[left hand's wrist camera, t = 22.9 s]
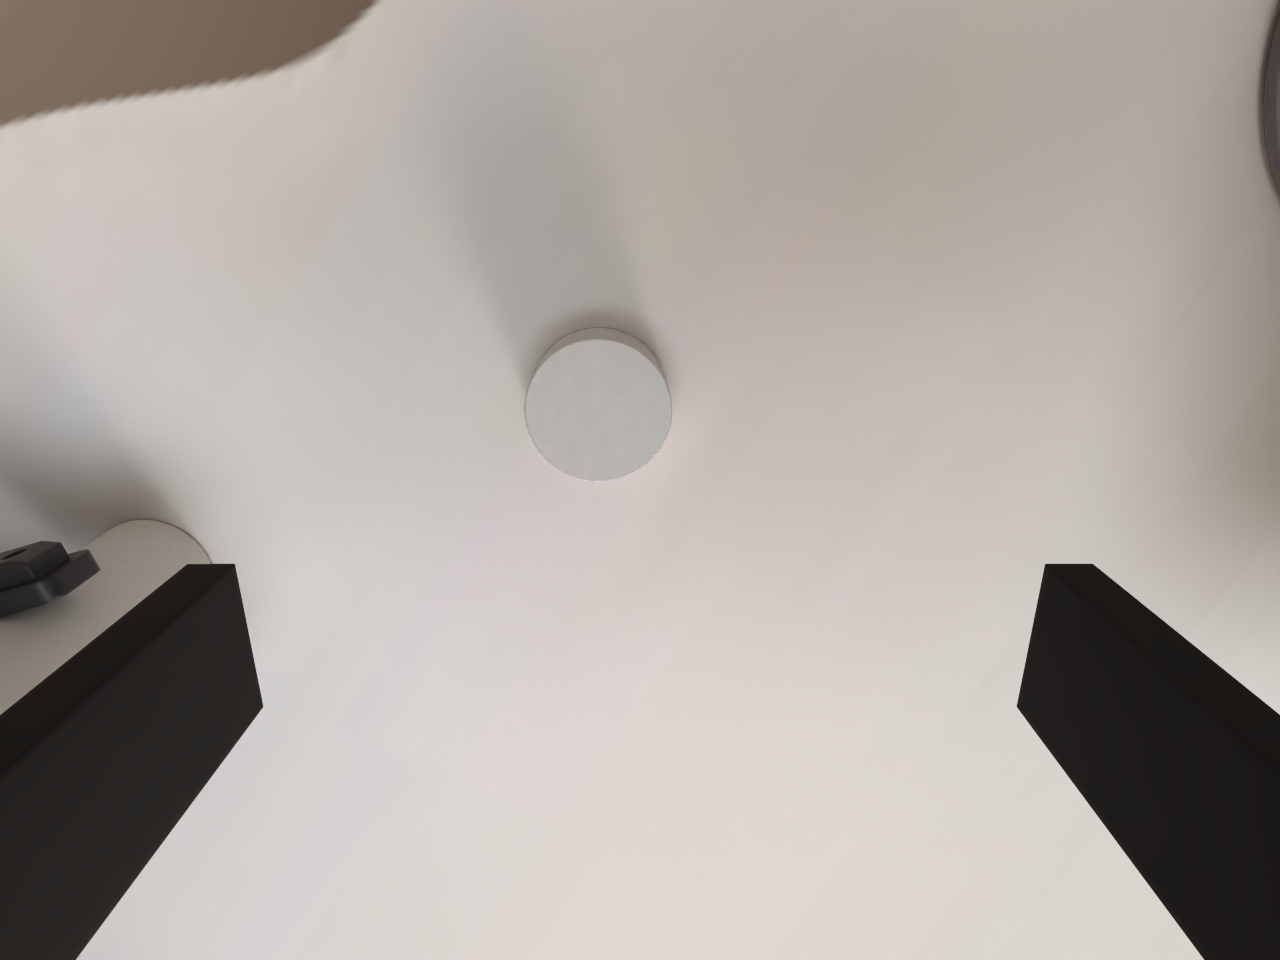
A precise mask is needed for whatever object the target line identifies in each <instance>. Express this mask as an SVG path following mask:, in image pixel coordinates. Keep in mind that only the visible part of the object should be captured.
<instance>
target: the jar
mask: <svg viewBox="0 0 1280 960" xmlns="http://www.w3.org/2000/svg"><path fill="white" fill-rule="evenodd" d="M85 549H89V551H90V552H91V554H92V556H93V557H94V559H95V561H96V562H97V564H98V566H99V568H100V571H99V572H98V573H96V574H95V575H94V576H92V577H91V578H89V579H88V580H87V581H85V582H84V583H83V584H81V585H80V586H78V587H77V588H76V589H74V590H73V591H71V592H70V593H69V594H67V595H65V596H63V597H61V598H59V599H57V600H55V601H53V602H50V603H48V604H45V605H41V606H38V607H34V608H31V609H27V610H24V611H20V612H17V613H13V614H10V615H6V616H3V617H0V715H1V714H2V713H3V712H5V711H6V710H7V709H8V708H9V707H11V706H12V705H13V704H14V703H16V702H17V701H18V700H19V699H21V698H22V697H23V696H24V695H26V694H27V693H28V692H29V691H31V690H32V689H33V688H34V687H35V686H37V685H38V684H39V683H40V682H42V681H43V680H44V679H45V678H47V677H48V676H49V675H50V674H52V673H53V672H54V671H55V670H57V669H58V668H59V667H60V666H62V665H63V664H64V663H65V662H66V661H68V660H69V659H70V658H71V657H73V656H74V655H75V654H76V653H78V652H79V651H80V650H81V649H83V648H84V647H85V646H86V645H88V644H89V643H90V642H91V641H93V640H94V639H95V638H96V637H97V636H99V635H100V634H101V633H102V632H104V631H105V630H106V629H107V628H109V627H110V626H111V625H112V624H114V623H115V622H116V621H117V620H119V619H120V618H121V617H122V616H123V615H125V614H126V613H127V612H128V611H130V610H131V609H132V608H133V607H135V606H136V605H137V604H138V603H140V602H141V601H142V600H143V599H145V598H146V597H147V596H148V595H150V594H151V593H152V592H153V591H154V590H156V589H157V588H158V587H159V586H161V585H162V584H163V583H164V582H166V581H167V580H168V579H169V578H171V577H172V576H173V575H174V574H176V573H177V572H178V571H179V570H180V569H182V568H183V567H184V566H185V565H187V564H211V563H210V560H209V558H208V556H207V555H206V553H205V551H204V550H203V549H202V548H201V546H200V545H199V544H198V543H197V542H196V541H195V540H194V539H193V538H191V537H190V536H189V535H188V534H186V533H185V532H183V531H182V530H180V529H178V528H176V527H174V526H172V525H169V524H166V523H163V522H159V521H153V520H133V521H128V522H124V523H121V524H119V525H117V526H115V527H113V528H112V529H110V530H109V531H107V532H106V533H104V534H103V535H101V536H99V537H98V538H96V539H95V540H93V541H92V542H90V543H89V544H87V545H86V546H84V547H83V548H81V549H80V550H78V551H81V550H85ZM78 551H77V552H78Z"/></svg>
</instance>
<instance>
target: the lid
mask: <svg viewBox="0 0 1280 960" xmlns="http://www.w3.org/2000/svg"><path fill="white" fill-rule="evenodd" d="M671 418H672V405H671V397H670V393H669V389H668V385H667V382H666V378H665V375H664V372H663V370H662V367H661V365H660V364H659V362H658V360H657V358H656V357H655V356H654V354H653V353H652V352H651V351H650V350H649V349H648V348H647V347H646V346H645V345H644V344H643V343H642V342H640V341H639V340H638V339H636V338H634V337H633V336H631V335H629V334H626V333H624V332H621V331H618V330H615V329H609V328H589V329H584V330H580V331H576V332H574V333H571V334H569V335H567V336H565V337H564V338H562V339H560V340H559V341H558V342H556V343H555V344H554V345H553V346H552V347H551V348H550V349H549V350H548V351H547V352H546V353H545V355H544V356H543V357H542V359H541V361H540V362H539V364H538V366H537V368H536V371H535V373H534V375H533V377H532V379H531V382H530V384H529V387H528V390H527V394H526V399H525V419H526V425H527V428H528V432H529V435H530V437H531V439H532V441H533V443H534V445H535V446H536V448H537V449H538V451H539V452H540V453H541V455H542V456H543V457H544V458H545V459H546V460H547V461H548V462H549V463H550V464H552V465H553V466H554V467H556V468H557V469H559V470H560V471H562V472H564V473H566V474H568V475H570V476H573V477H576V478H579V479H583V480H590V481H609V480H615V479H619V478H622V477H625V476H628V475H630V474H632V473H634V472H636V471H638V470H639V469H641V468H642V467H644V466H645V465H646V464H647V463H648V462H649V461H651V460H652V459H653V458H654V456H655V455H656V454H657V453H658V452H659V450H660V448H661V447H662V445H663V444H664V442H665V439H666V437H667V435H668V432H669V429H670V424H671Z"/></svg>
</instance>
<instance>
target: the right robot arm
mask: <svg viewBox="0 0 1280 960" xmlns="http://www.w3.org/2000/svg"><path fill="white" fill-rule="evenodd" d="M99 571H100V568H99V566H98V564H97V562H96V561H95V559H94V557H93V556H92V554H91V552H90V551H89V549H85V550H81V551H78V552H74V553H71V554H67V552H66V550H65V549H64V547H63V546H62V544H61V543H60V542H47V541H41V542H37V543H34V544H30V545H27V546H24V547H20V548H16V549H13V550H11V551H6V552H3V553H0V617H3V616H6V615H10V614H13V613H17V612H20V611H24V610H27V609H31V608H34V607H38V606H41V605H45V604H48V603H50V602H53V601H55V600H57V599H59V598H61V597H63V596H65V595H67V594H69V593H70V592H71V591H73V590H74V589H76V588H77V587H78V586H80V585H81V584H83V583H84V582H85V581H87V580H88V579H89V578H91V577H92V576H94V575H95V574H96V573H98V572H99Z"/></svg>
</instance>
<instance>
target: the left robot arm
mask: <svg viewBox="0 0 1280 960" xmlns="http://www.w3.org/2000/svg"><path fill="white" fill-rule="evenodd" d="M1264 131H1265V141H1266V149H1267V154H1268V159H1269V164H1270V169H1271V172H1272V175H1273V178H1274V181H1275V184H1276V187H1277V190H1278V192H1279V194H1280V16H1279V18H1278V22H1277V26H1276V29H1275V33H1274V37H1273V41H1272V45H1271V49H1270V55H1269V60H1268V66H1267V71H1266V80H1265V91H1264ZM262 708H263V703H262V698H261V693H260V688H259V683H258V678H257V673H256V668H255V663H254V658H253V653H252V648H251V643H250V638H249V633H248V628H247V623H246V618H245V613H244V608H243V603H242V598H241V593H240V588H239V583H238V578H237V573H236V568H235V564H187V565H185V566H184V567H183V568H182V569H180V570H179V571H178V572H177V573H176V574H174V575H173V576H172V577H171V578H169V579H168V580H167V581H166V582H164V583H163V584H162V585H161V586H159V587H158V588H157V589H156V590H154V591H153V592H152V593H151V594H150V595H148V596H147V597H146V598H145V599H143V600H142V601H141V602H140V603H138V604H137V605H136V606H135V607H133V608H132V609H131V610H130V611H128V612H127V613H126V614H125V615H123V616H122V617H121V618H120V619H119V620H117V621H116V622H115V623H114V624H112V625H111V626H110V627H109V628H107V629H106V630H105V631H104V632H102V633H101V634H100V635H99V636H97V637H96V638H95V639H94V640H93V641H91V642H90V643H89V644H88V645H86V646H85V647H84V648H83V649H81V650H80V651H79V652H78V653H76V654H75V655H74V656H73V657H71V658H70V659H69V660H68V661H66V662H65V663H64V664H63V665H62V666H60V667H59V668H58V669H57V670H55V671H54V672H53V673H52V674H50V675H49V676H48V677H47V678H45V679H44V680H43V681H42V682H40V683H39V684H38V685H37V686H35V687H34V688H33V689H32V690H31V691H29V692H28V693H27V694H26V695H24V696H23V697H22V698H21V699H19V700H18V701H17V702H16V703H14V704H13V705H12V706H11V707H9V708H8V709H7V710H6V711H5V712H3V713H2V714H1V715H0V960H76V958H77V957H78V956H79V954H80V953H81V952H82V950H83V949H84V948H85V946H86V945H87V944H88V942H89V941H90V940H91V938H92V937H93V936H94V934H95V933H96V932H97V930H98V929H99V927H100V926H101V925H102V923H103V922H104V921H105V919H106V918H107V917H108V915H109V914H110V913H111V911H112V910H113V909H114V907H115V906H116V905H117V903H118V902H119V901H120V899H121V898H122V896H123V895H124V894H125V892H126V891H127V890H128V888H129V887H130V886H131V884H132V883H133V882H134V880H135V879H136V878H137V876H138V875H139V874H140V872H141V871H142V869H143V868H144V867H145V865H146V864H147V863H148V861H149V860H150V859H151V857H152V856H153V855H154V853H155V852H156V851H157V849H158V848H159V847H160V845H161V844H162V843H163V841H164V840H165V838H166V837H167V836H168V834H169V833H170V832H171V830H172V829H173V828H174V826H175V825H176V824H177V822H178V821H179V820H180V818H181V817H182V816H183V814H184V813H185V812H186V810H187V809H188V807H189V806H190V805H191V803H192V802H193V801H194V799H195V798H196V797H197V795H198V794H199V793H200V791H201V790H202V789H203V787H204V786H205V785H206V783H207V782H208V781H209V779H210V778H211V776H212V775H213V774H214V772H215V771H216V770H217V768H218V767H219V766H220V764H221V763H222V762H223V760H224V759H225V758H226V756H227V755H228V754H229V752H230V751H231V750H232V748H233V747H234V745H235V744H236V743H237V741H238V740H239V739H240V737H241V736H242V735H243V733H244V732H245V731H246V729H247V728H248V727H249V725H250V724H251V723H252V721H253V720H254V718H255V717H256V716H257V714H258V713H259V712H260V710H261V709H262ZM1017 708H1018V709H1019V710H1020V712H1021V713H1022V714H1023V716H1024V717H1025V718H1026V720H1027V721H1028V723H1029V724H1030V725H1031V727H1032V728H1033V729H1034V731H1035V732H1036V733H1037V735H1038V736H1039V737H1040V739H1041V740H1042V741H1043V743H1044V744H1045V745H1046V747H1047V748H1048V749H1049V751H1050V752H1051V754H1052V755H1053V756H1054V758H1055V759H1056V760H1057V762H1058V763H1059V764H1060V766H1061V767H1062V768H1063V770H1064V771H1065V772H1066V774H1067V775H1068V776H1069V778H1070V779H1071V781H1072V782H1073V783H1074V785H1075V786H1076V787H1077V789H1078V790H1079V791H1080V793H1081V794H1082V795H1083V797H1084V798H1085V799H1086V801H1087V802H1088V803H1089V805H1090V806H1091V807H1092V809H1093V810H1094V812H1095V813H1096V814H1097V816H1098V817H1099V818H1100V820H1101V821H1102V822H1103V824H1104V825H1105V826H1106V828H1107V829H1108V830H1109V832H1110V833H1111V834H1112V836H1113V837H1114V838H1115V840H1116V841H1117V843H1118V844H1119V845H1120V847H1121V848H1122V849H1123V851H1124V852H1125V853H1126V855H1127V856H1128V857H1129V859H1130V860H1131V861H1132V863H1133V864H1134V865H1135V867H1136V868H1137V869H1138V871H1139V872H1140V874H1141V875H1142V876H1143V878H1144V879H1145V880H1146V882H1147V883H1148V884H1149V886H1150V887H1151V888H1152V890H1153V891H1154V892H1155V894H1156V895H1157V896H1158V898H1159V899H1160V901H1161V902H1162V903H1163V905H1164V906H1165V907H1166V909H1167V910H1168V911H1169V913H1170V914H1171V915H1172V917H1173V918H1174V919H1175V921H1176V922H1177V923H1178V925H1179V926H1180V927H1181V929H1182V930H1183V932H1184V933H1185V934H1186V936H1187V937H1188V938H1189V940H1190V941H1191V942H1192V944H1193V945H1194V946H1195V948H1196V949H1197V950H1198V952H1199V953H1200V954H1201V956H1202V957H1203V958H1204V960H1280V715H1279V714H1278V713H1277V712H1275V711H1274V710H1273V709H1272V708H1271V707H1269V706H1268V705H1267V704H1266V703H1264V702H1263V701H1262V700H1261V699H1259V698H1258V697H1257V696H1256V695H1254V694H1253V693H1252V692H1251V691H1249V690H1248V689H1247V688H1246V687H1245V686H1243V685H1242V684H1241V683H1240V682H1238V681H1237V680H1236V679H1235V678H1233V677H1232V676H1231V675H1230V674H1228V673H1227V672H1226V671H1225V670H1223V669H1222V668H1221V667H1220V666H1218V665H1217V664H1216V663H1215V662H1214V661H1212V660H1211V659H1210V658H1209V657H1207V656H1206V655H1205V654H1204V653H1202V652H1201V651H1200V650H1199V649H1197V648H1196V647H1195V646H1194V645H1192V644H1191V643H1190V642H1189V641H1187V640H1186V639H1185V638H1184V637H1183V636H1181V635H1180V634H1179V633H1178V632H1176V631H1175V630H1174V629H1173V628H1171V627H1170V626H1169V625H1168V624H1166V623H1165V622H1164V621H1163V620H1161V619H1160V618H1159V617H1158V616H1157V615H1155V614H1154V613H1153V612H1152V611H1150V610H1149V609H1148V608H1147V607H1145V606H1144V605H1143V604H1142V603H1140V602H1139V601H1138V600H1137V599H1135V598H1134V597H1133V596H1132V595H1130V594H1129V593H1128V592H1127V591H1126V590H1124V589H1123V588H1122V587H1121V586H1119V585H1118V584H1117V583H1116V582H1114V581H1113V580H1112V579H1111V578H1109V577H1108V576H1107V575H1106V574H1104V573H1103V572H1102V571H1101V570H1100V569H1098V568H1097V567H1096V566H1095V565H1093V564H1045V568H1044V573H1043V578H1042V583H1041V588H1040V593H1039V598H1038V603H1037V608H1036V613H1035V618H1034V623H1033V628H1032V633H1031V638H1030V643H1029V648H1028V653H1027V658H1026V663H1025V668H1024V673H1023V678H1022V683H1021V688H1020V693H1019V698H1018V703H1017Z"/></svg>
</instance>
